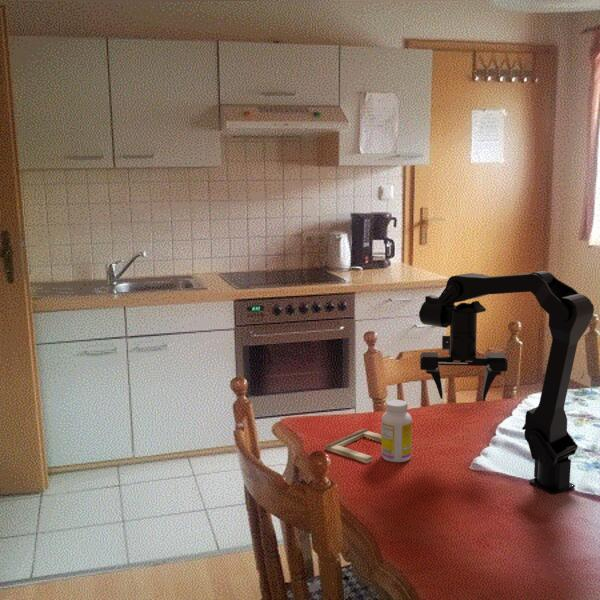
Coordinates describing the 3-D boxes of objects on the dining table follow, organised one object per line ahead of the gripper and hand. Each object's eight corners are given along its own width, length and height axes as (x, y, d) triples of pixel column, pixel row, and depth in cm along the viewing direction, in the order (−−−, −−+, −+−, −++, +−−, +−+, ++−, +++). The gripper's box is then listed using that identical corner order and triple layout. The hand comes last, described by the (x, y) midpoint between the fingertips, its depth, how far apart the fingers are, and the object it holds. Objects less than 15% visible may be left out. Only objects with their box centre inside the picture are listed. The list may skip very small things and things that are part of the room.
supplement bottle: (410, 452, 164) (411, 398, 161) (412, 464, 157) (413, 408, 155) (381, 451, 164) (381, 397, 162) (381, 463, 158) (382, 407, 156)
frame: (403, 445, 168) (403, 440, 168) (366, 463, 158) (366, 457, 157) (362, 433, 176) (362, 428, 176) (325, 449, 166) (325, 444, 165)
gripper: (502, 323, 164) (500, 389, 167) (419, 323, 167) (419, 387, 170) (508, 333, 154) (507, 404, 156) (420, 333, 156) (420, 402, 159)
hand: (462, 398), depth 161 cm, fingers open, 9 cm apart
